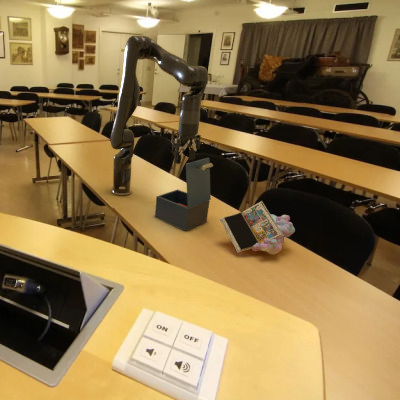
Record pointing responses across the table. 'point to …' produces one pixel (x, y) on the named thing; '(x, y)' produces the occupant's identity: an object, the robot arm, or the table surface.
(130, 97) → the robot arm
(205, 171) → the lid
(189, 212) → the hinged navy chest
